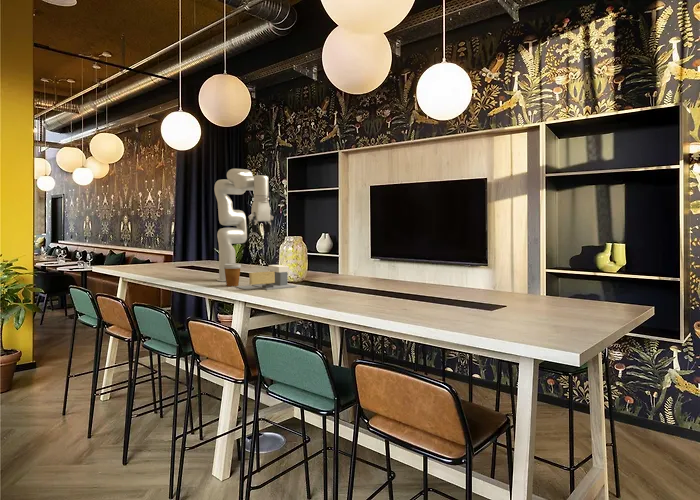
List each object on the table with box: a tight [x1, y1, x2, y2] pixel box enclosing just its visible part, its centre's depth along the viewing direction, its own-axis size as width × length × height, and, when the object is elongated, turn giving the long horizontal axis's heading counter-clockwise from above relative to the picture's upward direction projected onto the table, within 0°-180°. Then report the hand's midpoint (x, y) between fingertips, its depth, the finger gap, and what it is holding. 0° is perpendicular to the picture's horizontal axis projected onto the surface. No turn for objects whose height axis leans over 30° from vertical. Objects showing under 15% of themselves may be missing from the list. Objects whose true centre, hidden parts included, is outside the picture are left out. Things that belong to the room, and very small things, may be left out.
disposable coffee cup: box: [224, 263, 242, 287], centre depth 255 cm, size 10×10×12 cm
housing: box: [251, 272, 297, 291], centre depth 253 cm, size 18×18×8 cm
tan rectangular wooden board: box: [248, 271, 275, 286], centre depth 243 cm, size 2×14×7 cm, turn 128°
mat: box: [234, 284, 261, 291], centre depth 248 cm, size 13×8×1 cm, turn 38°
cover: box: [267, 264, 290, 273], centre depth 258 cm, size 12×6×3 cm, turn 38°
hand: (261, 232), depth 241 cm, fingers open, 9 cm apart
